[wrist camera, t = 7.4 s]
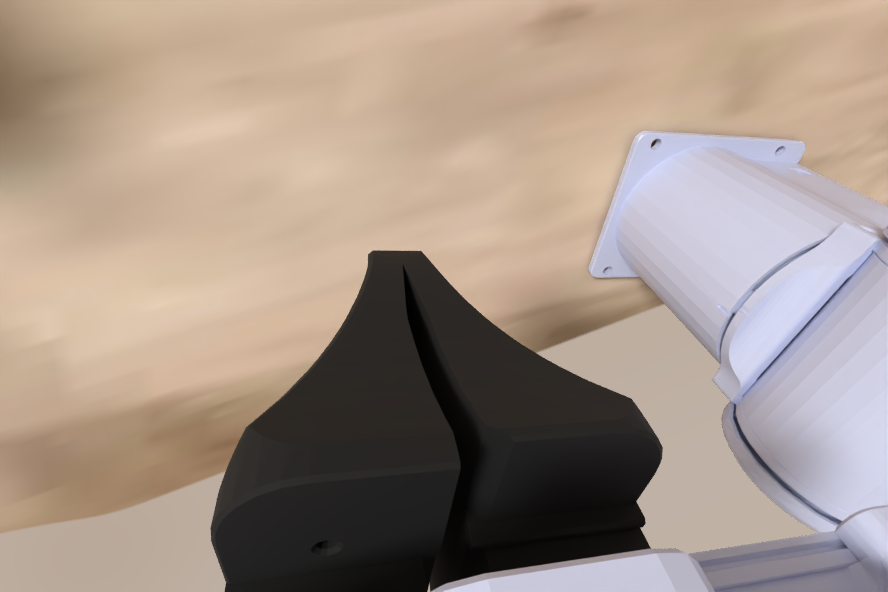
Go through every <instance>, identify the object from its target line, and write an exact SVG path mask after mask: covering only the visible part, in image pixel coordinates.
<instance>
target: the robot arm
mask: <svg viewBox="0 0 888 592" xmlns="http://www.w3.org/2000/svg"><path fill="white" fill-rule="evenodd" d="M655 139H657V142H656V144H655V145H654V146H652V147H651V143H652V142H653V141H654V140H655ZM778 148H779V149H778ZM805 148H806V145H805V143H803V142H801V141H799V140H791V139H775V138H759V137H743V136H727V135H710V134H694V133H678V132H662V131H642V132H640V133H639V134H638V135H637V136H636V137H635V138H634V140H633V143H632V146H631V148H630V151H629V154H628V157H627V160H626V163H625V165H624V168H623V171H622V174H621V177H620V180H619V182H618V185H617V188H616V191H615V194H614V197H613V200H612V202H611V205H610V208H609V211H608V214H607V217H606V219H605V222H604V225H603V228H602V231H601V234H600V237H599V239H598V242H597V245H596V248H595V251H594V254H593V256H592V259H591V262H590V265H589V269H588V271H589V273H590V274H591V276H593V277H595V278H610V277H641V279H642V280H643V281H644V282H645V283H646V284H647V285H648V286H649V287H650V288H651V289H652V290H653V292H654V293H655V294H656V295H657V296H658V297H659V298H660V299H661V300H662V301H663V302H664V304H665V305H666V306H667V307H668V308H669V309H670V310H671V311H672V312H673V313H674V314H675V315H676V316H677V318H678V319H679V320H680V321H681V322H682V323H683V324H684V325H685V326H686V327H687V329H688V330H689V331H690V332H691V333H692V334H693V335H694V336H695V337H696V338H697V339H698V340H699V342H701V344H702V345H703V346H704V347H705V348H706V349H707V350H708V351H709V352H710V353H711V355H712V356H713V357H714V358H715V359H716V360H717V361H718V362H719V363H720V364H721V365H720V368H719V370H718V372H717V374H716V375H715V376H714V378H713V382H714V383H715V384H716V385H717V386H718V387H719V389H720V390H721V391H722V392H723V393H724V394H725V395H726V397H727V398H728V399H729V400H730V401H731V402H730V403H728V405H727V406H726V407H725V408H724V411H723V414H722V428H723V431H724V435H725V438H726V440H727V442H728V444H729V446H730V449H731V450H732V452H733V453H734V456H735V458H736V459H737V461H738V463H739V464H740V466H741V467H742V469H743V470H744V472H745V473H746V474H747V476H748V477H749V478H750V479H751V480H752V482H753V483H754V484H755V485H756V486H757V487H758V488H759V489H760V490H761V491H762V492H763V493H764V494H765V495H766V496H767V497H768V498H769V499H770V500H771V501H773V502H774V503H775V504H776V505H778V506H779V507H780V508H781V509H782V510H783V511H785V512H786V513H788V514H789V515H790V516H792V517H793V518H795V519H796V520H798V521H799V522H801V523H802V524H804V525H806V526H807V527H809V528H811V529H813V530H815V531H817V532H819V533H818V534H812V535H805V536H799V537H793V538H786V539H780V540H773V541H767V542H761V543H754V544H748V545H741V546H735V547H729V548H722V549H716V550H710V551H703V552H697V553H690V554H687V553H685V552H682V551H680V550H678V549H651V548H650V546H649V544H648V542H647V540H646V538H645V536H644V535H643V533H642V531H641V529H640V527H643V526H644V525H645V517H644V515H643V513H642V512H641V510H640V508H639V506H638V504H637V502H636V501H637V499H638V498H639V497H640V495H641V494H642V492H643V491H644V489H645V488H646V486H647V485H648V483H649V482H650V480H651V479H652V477H653V476H654V475H655V473H656V471H657V469H658V467H659V465H660V462H661V460H662V449H663V448H662V445H661V443H660V441H659V439H658V438H657V436H656V435H655V433H654V431H653V430H652V428H651V427H650V425H649V424H648V422H647V420H646V419H645V417H644V416H643V414H642V413H641V412H640V410H639V409H638V407H637V406H636V405H635V403H634V402H633V400H632V399H631V398H628V397H626V396H624V395H621V394H619V393H616V392H614V391H611V390H609V389H607V388H604V387H602V386H599V385H597V384H595V383H592V382H589V381H588V380H585V379H583V378H581V377H579V376H577V375H575V374H573V373H571V372H569V371H567V370H565V369H563V368H561V367H559V366H557V365H556V364H554V363H552V362H550V361H548V360H546V359H545V358H543V357H541V356H539V355H538V354H536V353H535V352H533V351H532V350H530V349H528V348H527V347H525V346H523V345H522V344H520V343H519V342H517V341H516V340H514V339H513V338H511V337H510V336H509V335H507V334H506V333H505V332H503V331H502V330H501V329H499V328H498V327H497V326H495V325H494V324H493V323H491V322H490V321H489V320H488V319H486V318H485V317H484V316H483V315H482V314H481V313H479V312H478V311H477V310H476V309H475V308H474V307H473V306H472V305H471V304H469V303H468V302H467V301H466V300H465V299H464V298H463V297H462V296H461V295H460V294H459V293H458V292H457V291H456V290H455V289H454V288H453V287H452V285H451V284H450V283H449V282H448V281H447V280H446V279H445V278H444V277H443V276H442V274H441V273H440V272H439V271H438V270H437V269H436V268H435V266H434V265H433V264H432V263H431V262H430V260H429V259H428V258H427V257H426V256H425V255H424V254H423V253H422V251H372V252H371V253H369V254H368V268H367V271H366V275H365V278H364V281H363V284H362V286H361V289H360V291H359V294H358V296H357V298H356V300H355V302H354V304H353V306H352V308H351V310H350V312H349V314H348V316H347V318H346V319H345V321H344V323H343V324H342V326H341V328H340V329H339V331H338V332H337V334H336V335H335V337H334V338H333V340H332V341H331V343H330V344H329V345H328V346H327V348H326V349H325V350H324V352H323V353H322V354H321V356H320V357H319V358H318V359H317V361H316V362H315V363H314V364H313V365H312V367H311V368H310V369H309V370H308V371H307V372H306V373H305V374H304V375H303V376H302V377H301V378H300V379H299V380H298V381H297V382H296V383H295V384H294V385H293V386H292V388H291V389H290V390H289V391H288V392H287V393H286V394H285V395H284V396H282V397H281V398H280V399H279V400H278V401H277V402H276V403H275V404H273V405H272V406H271V407H270V408H269V409H268V410H266V411H265V412H264V413H263V414H262V415H260V416H259V417H258V418H257V419H256V420H255V421H253V422H252V423H251V424H250V425H248V426H247V427H246V429H245V431H244V433H243V435H242V437H241V439H240V441H239V443H238V445H237V447H236V449H235V451H234V453H233V455H232V458H231V460H230V462H229V465H228V467H227V470H226V472H225V475H224V478H223V481H222V484H221V487H220V490H219V493H218V498H217V502H216V507H215V511H214V516H213V520H212V525H211V541H212V544H213V547H214V550H215V553H216V555H217V558H218V561H219V564H220V567H221V569H222V572H223V575H224V578H225V581H226V587H225V592H427V590H428V586H429V582H430V592H888V206H886V205H884V204H882V203H880V202H878V201H876V200H874V199H871V198H869V197H867V196H865V195H863V194H861V193H859V192H856V191H854V190H852V189H850V188H848V187H846V186H844V185H842V184H839V183H837V182H835V181H833V180H831V179H829V178H827V177H824V176H822V175H820V174H818V173H816V172H814V171H812V170H810V169H807V168H805V167H803V166H801V165H799V164H798V162H799V160H800V158H801V157H802V155H803V153H804V151H805ZM777 149H778V150H777ZM776 150H777V151H776ZM606 267H608V269H606V270H604V269H605V268H606Z"/></svg>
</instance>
